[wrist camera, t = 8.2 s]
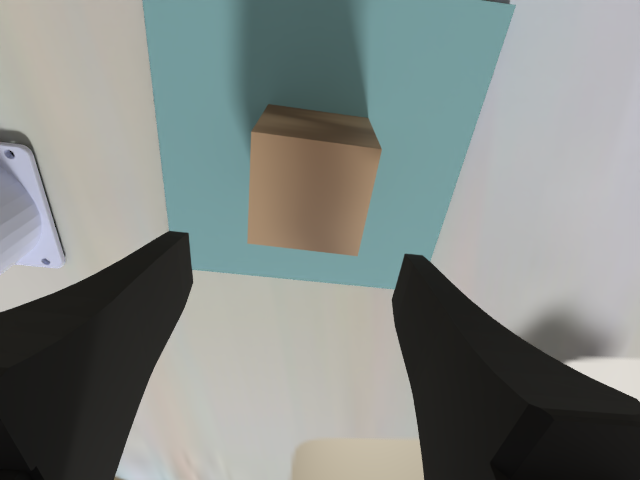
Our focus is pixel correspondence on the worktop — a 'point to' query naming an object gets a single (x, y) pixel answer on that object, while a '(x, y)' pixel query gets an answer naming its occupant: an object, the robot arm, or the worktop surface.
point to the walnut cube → (311, 179)
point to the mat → (320, 95)
